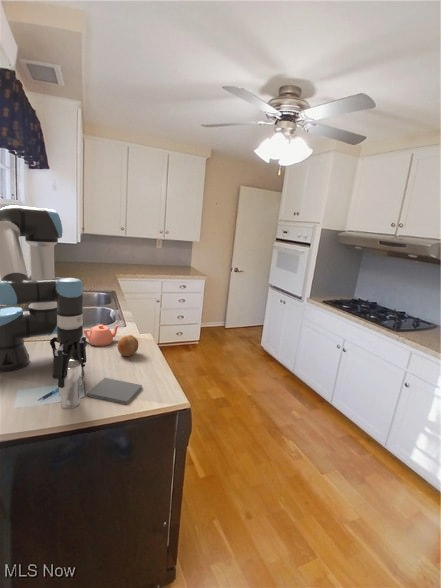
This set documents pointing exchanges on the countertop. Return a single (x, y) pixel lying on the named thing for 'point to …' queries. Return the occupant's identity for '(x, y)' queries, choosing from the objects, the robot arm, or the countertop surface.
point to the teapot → (100, 335)
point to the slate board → (114, 390)
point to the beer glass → (73, 385)
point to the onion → (127, 345)
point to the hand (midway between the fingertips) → (70, 389)
